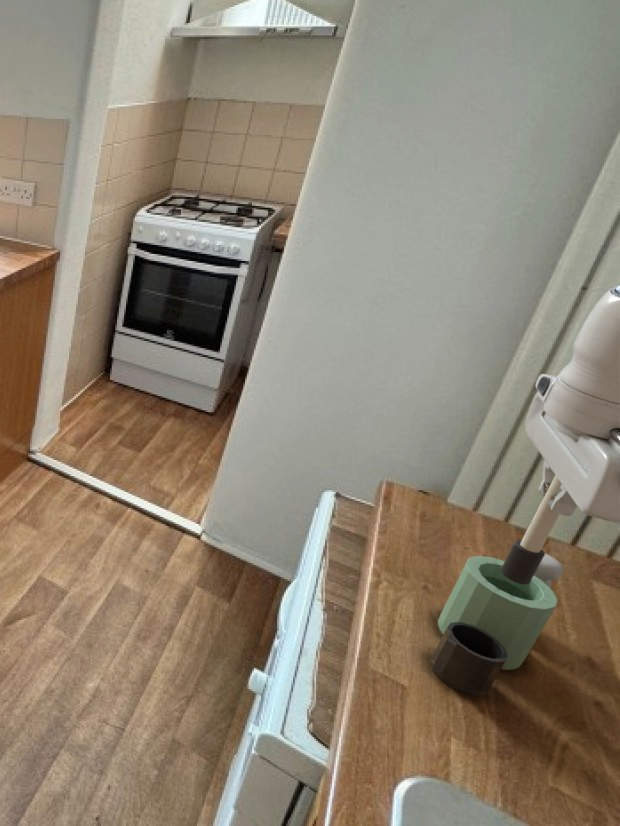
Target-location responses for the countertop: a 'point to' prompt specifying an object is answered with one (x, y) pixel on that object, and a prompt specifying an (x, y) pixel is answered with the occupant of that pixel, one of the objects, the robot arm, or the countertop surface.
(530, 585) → the jar
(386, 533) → the countertop surface
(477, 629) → the holder
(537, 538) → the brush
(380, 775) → the countertop surface
